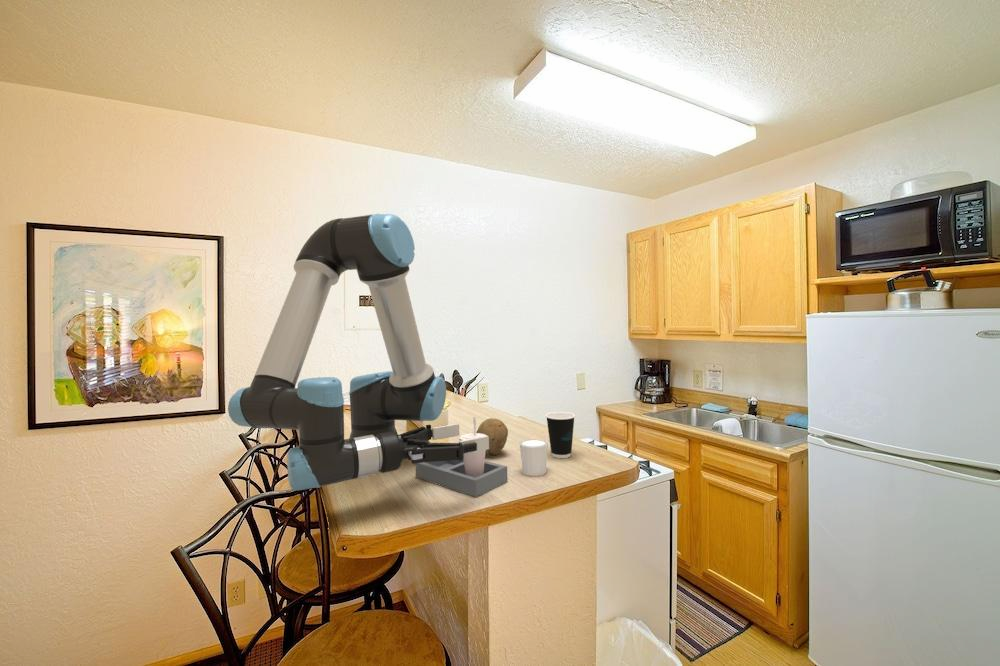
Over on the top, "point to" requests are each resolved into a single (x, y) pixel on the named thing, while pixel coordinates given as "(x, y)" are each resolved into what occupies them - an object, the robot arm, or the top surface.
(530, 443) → the white rounded cylinder
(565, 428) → the dixie cup
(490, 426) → the potato
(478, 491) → the divided tray
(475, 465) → the smoothie
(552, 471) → the top surface
